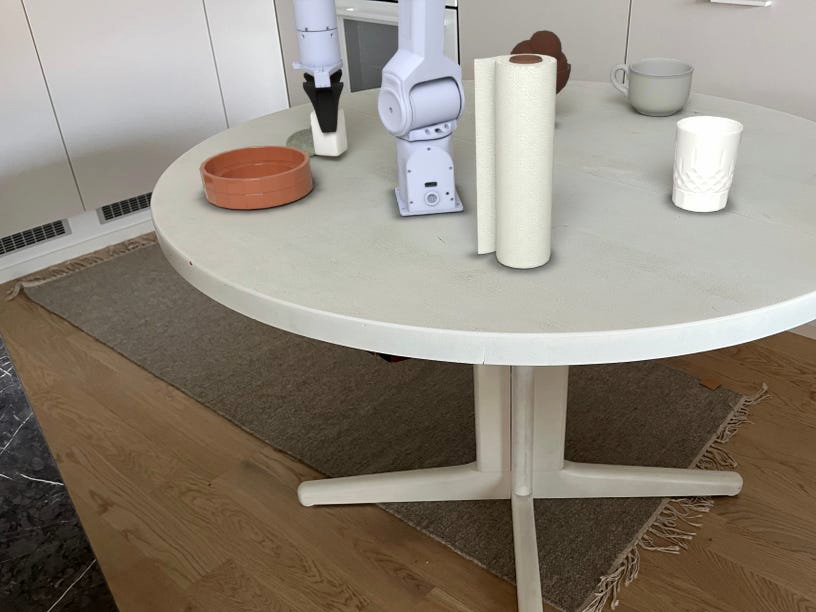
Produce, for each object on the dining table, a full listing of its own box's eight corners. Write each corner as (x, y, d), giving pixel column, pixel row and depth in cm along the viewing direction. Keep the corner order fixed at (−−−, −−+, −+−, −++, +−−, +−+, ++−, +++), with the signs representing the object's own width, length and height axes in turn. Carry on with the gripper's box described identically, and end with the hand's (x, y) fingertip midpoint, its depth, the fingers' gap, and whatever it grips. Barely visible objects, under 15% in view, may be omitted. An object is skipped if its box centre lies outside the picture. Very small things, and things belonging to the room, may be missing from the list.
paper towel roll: (561, 258, 88) (570, 57, 77) (523, 275, 85) (526, 67, 73) (515, 240, 93) (516, 47, 81) (477, 255, 89) (473, 56, 78)
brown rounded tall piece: (568, 116, 136) (572, 23, 128) (568, 135, 127) (572, 36, 119) (507, 115, 137) (507, 23, 129) (502, 134, 128) (502, 36, 120)
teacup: (697, 108, 139) (703, 61, 135) (675, 124, 131) (680, 74, 127) (623, 99, 145) (627, 53, 141) (598, 113, 138) (601, 65, 133)
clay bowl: (313, 206, 103) (308, 175, 101) (200, 215, 101) (193, 183, 99) (313, 171, 115) (309, 142, 112) (212, 178, 113) (206, 149, 110)
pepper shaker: (349, 149, 120) (342, 84, 115) (338, 157, 117) (330, 91, 111) (325, 147, 121) (317, 83, 116) (313, 155, 117) (305, 90, 112)
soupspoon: (283, 161, 121) (326, 162, 121) (280, 139, 119) (324, 141, 119) (307, 116, 139) (344, 117, 139) (305, 97, 137) (343, 98, 137)
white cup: (685, 217, 97) (696, 137, 92) (657, 195, 104) (665, 119, 98) (742, 210, 99) (756, 130, 94) (711, 189, 105) (722, 113, 100)
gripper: (288, 20, 115) (302, 115, 122) (285, 39, 103) (300, 143, 110) (337, 18, 116) (347, 112, 123) (340, 36, 104) (351, 139, 111)
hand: (328, 126), depth 117 cm, fingers closed on pepper shaker, 5 cm apart
